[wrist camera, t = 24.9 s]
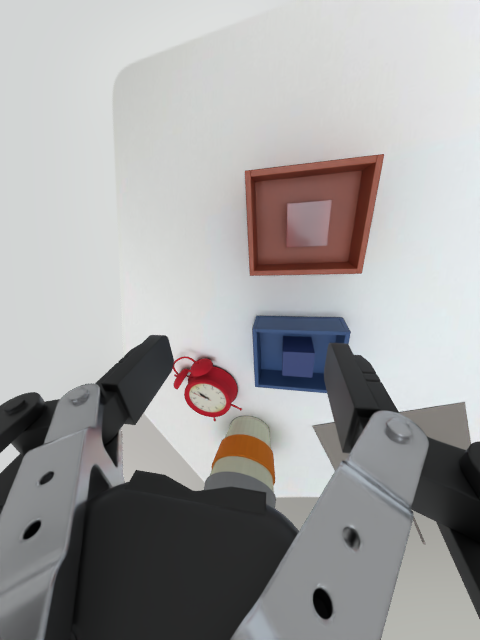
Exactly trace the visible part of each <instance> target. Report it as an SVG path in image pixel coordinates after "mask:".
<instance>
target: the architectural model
mask: <svg viewBox="0 0 480 640" xmlns="http://www.w3.org/2000/svg"><path fill="white" fill-rule="evenodd" d="M399 414H401V415H404V416H405V417H407V418H409V419H410V420H412V421H413V422H415V423H416V424H417V425H418V426H419V427H420V428H421V429H422V430H423V431H424V433H425V435H426V436H428V437H430V438H432V439H435V440H438V441H440V442H443V443H446V444H449V445H452V446H455V447H458V448H461V449H464V450H467V449H468V447H469V446H470V445H471V442H470V435H469V428H468V421H467V414H466V407H465V402H464V403H457V404H451V405H444V406H438V407H431V408H425V409H418V410H412V411H405V412H399ZM313 428H314V430H315V432H316V434H317V436H318V438H319V440H320V442H321V444H322V446H323V448H324V450H325V452H326V454H327V456H328V458H329V460H330V462H331V464H332V466H333V468H334V470H335V471H336V469H337V467H338V466H339V464H340V463H341V462H342V461H343V460H344V461H345V460H346V459H347V457H348V456H349V453H342V449H341V445H340V441H339V437H338V433H337V429H336V425H335V422H334V423H328V424H322V425H315V426H313ZM413 521H414V523H415V526H416V528H417V530H418V533H419V535H420V538H421V539H422V542H423V544H425V541H424V539H423V537H422V534H421V532H420V530H419V527H418V525H417V523H416V520H415V518H414V516H413Z"/></svg>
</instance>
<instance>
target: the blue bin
mask: <svg viewBox="0 0 480 640" xmlns="http://www.w3.org/2000/svg"><path fill="white" fill-rule="evenodd" d="M252 331H253V352H254V372H255V387H263V388H274V389H285V390H297V391H308V392H320V393H327V390H326V386H325V381H324V367H325V361H326V355H327V348H328V344H329V343H347V344H349V338H350V333H351V332H350V330H349V328H348V326H347V325H346V323H345V321H344V319H343V318H342V317H292V316H256V318H255V322H254V325H253V329H252ZM283 336H294V337H312V342H313V346H314V351H315V358H314V367H313V377H312V378H310V377H296V376H283V375H282V355H283Z"/></svg>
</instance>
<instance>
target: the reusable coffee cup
mask: <svg viewBox="0 0 480 640" xmlns="http://www.w3.org/2000/svg"><path fill="white" fill-rule="evenodd" d="M274 483H275V472H274V458H273V452H272V450H271V445H270V431H269V428H268V426H267V425H266V424H265V423H264V422H263V421H261V420H260V419H257V418H255V417H251V416H241V417H237V418H236V419H234V420H233V421H232V423H231V425H230V427H229V430H228V432H227V435H226V437H225V438H224V439H223V440H222V442H221V444H220V446H219V449H218V451H217V454H216V456H215V458H214V461H213V463H212V471H211V474H210V476H209V477H208V478H207V479H206V482H205V487H204V490H209V489H216V488H223V487H231V486H232V487H238V488H244V489H250V490H256V491H261V492H266V493H267V504H268V505H269V506H271V507H273V508H275V503H276V498H275V494H274V491H273V485H274Z"/></svg>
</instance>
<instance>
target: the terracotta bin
mask: <svg viewBox="0 0 480 640" xmlns="http://www.w3.org/2000/svg"><path fill="white" fill-rule="evenodd" d="M383 158H384V154H381V155H373V156H364V157H356V158H348V159H339V160H331V161H323V162H315V163H306V164H298V165H290V166H281V167H273V168H265V169H256V170H251V171H250V170H248V171H245V184H246V205H247V226H248V247H249V268H250V276H254V275H255V276H257V275H309V274H356V273H357V274H359V273H362V269H363V264H364V259H365V253H366V248H367V243H368V237H369V232H370V227H371V221H372V216H373V211H374V206H375V200H376V195H377V190H378V184H379V179H380V174H381V168H382V163H383ZM321 200H332V206H331V216H330V225H329V234H328V244H327V246H313V247H292V248H286V217H287V204H288V203H299V202H310V201H321Z"/></svg>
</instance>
